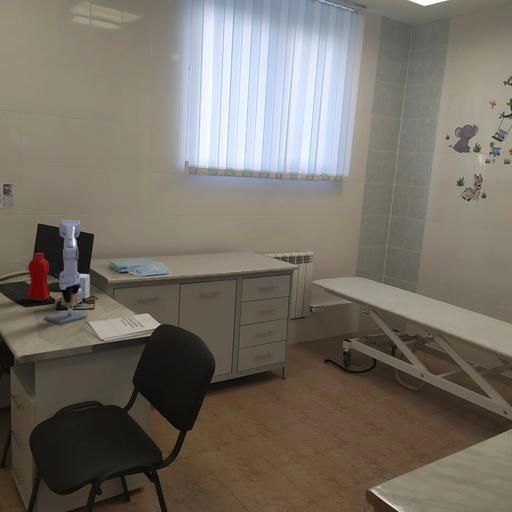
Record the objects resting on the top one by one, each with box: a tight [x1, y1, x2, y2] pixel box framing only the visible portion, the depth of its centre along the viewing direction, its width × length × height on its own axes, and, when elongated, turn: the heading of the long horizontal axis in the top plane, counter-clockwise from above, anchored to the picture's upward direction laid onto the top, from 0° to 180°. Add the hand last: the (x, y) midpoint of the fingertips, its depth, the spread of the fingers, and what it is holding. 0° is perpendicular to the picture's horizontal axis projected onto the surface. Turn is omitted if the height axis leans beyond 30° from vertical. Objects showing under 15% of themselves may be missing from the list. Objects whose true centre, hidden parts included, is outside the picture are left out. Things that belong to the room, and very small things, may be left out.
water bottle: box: [26, 252, 51, 300], centre depth 260 cm, size 9×11×25 cm
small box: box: [79, 273, 91, 298], centre depth 267 cm, size 8×6×13 cm
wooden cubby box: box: [63, 293, 78, 306], centre depth 235 cm, size 5×5×5 cm
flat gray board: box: [44, 310, 87, 325], centre depth 235 cm, size 14×12×1 cm
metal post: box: [67, 306, 74, 316], centre depth 236 cm, size 2×2×6 cm
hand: (70, 300), depth 235 cm, fingers closed on wooden cubby box, 5 cm apart
